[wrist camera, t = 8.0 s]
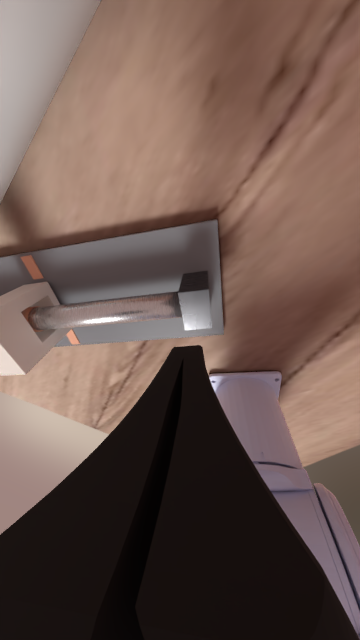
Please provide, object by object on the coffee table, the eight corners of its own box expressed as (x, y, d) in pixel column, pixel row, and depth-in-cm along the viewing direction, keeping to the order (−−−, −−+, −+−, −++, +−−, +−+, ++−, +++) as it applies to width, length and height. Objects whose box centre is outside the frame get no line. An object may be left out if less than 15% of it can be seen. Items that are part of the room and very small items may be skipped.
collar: (73, 327, 20) (25, 374, 14) (51, 329, 20) (-2, 375, 15) (47, 281, 17) (-22, 318, 12) (23, 284, 17) (-53, 321, 12)
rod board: (223, 329, 19) (228, 362, 15) (22, 345, 23) (-14, 374, 19) (216, 218, 14) (221, 226, 10) (-40, 263, 18) (-105, 281, 14)
